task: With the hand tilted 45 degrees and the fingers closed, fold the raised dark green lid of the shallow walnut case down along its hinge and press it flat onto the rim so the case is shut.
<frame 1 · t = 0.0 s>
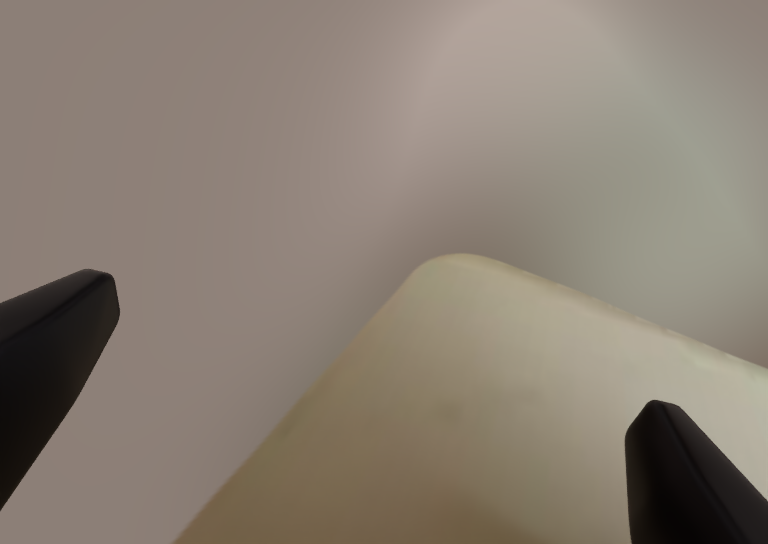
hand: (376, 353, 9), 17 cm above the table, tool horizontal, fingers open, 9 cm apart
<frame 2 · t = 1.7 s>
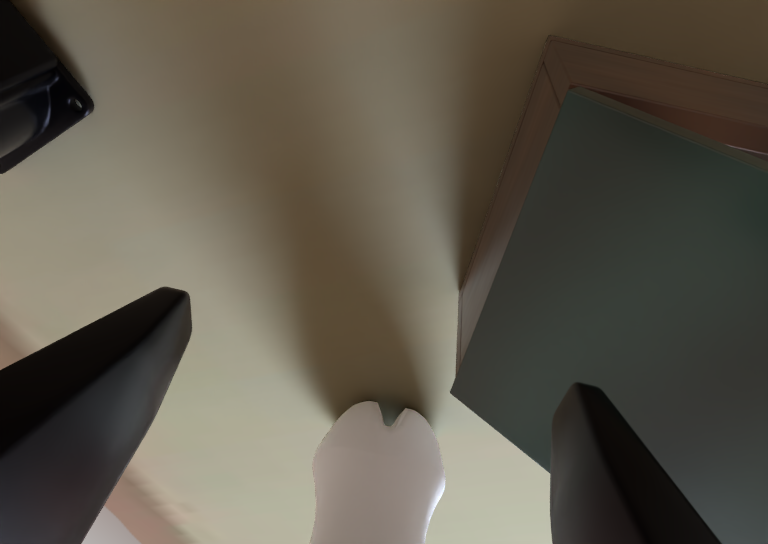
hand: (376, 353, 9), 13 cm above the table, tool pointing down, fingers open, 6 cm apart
case: (656, 222, 21), on the table
water bottle: (386, 427, 31), on the table
cover: (722, 408, 13), point 9 cm above the table, hinge at 35.0°
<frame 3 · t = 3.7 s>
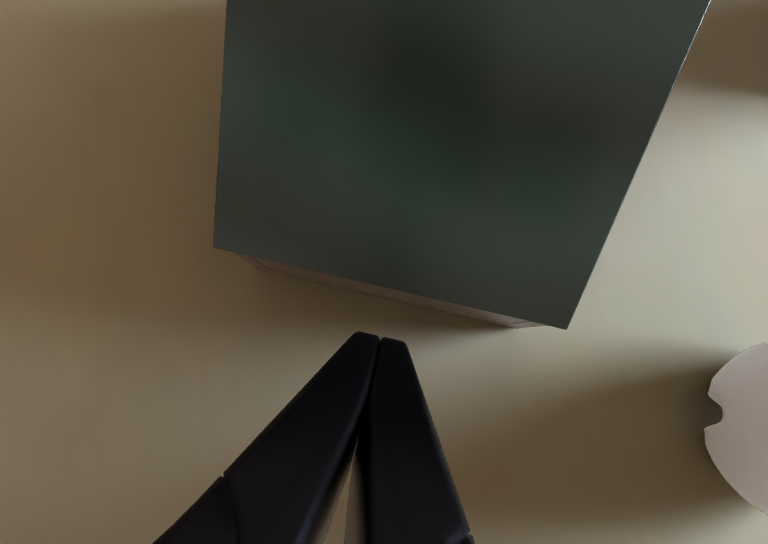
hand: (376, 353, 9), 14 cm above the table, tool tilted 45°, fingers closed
case: (418, 155, 23), on the table
water bottle: (760, 421, 22), on the table
cover: (443, 62, 14), point 9 cm above the table, hinge at 35.0°
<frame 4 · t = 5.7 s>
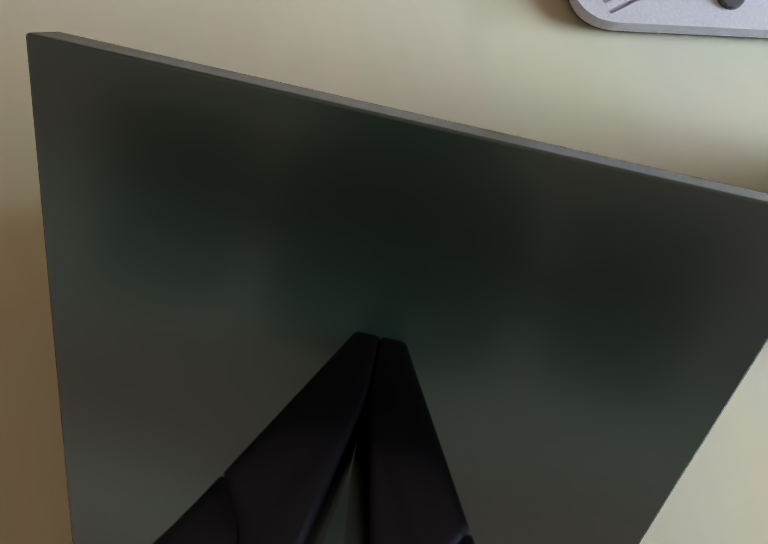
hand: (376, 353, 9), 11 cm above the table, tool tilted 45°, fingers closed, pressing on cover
cover: (350, 463, 10), point 9 cm above the table, hinge at 34.0°, touching gripper
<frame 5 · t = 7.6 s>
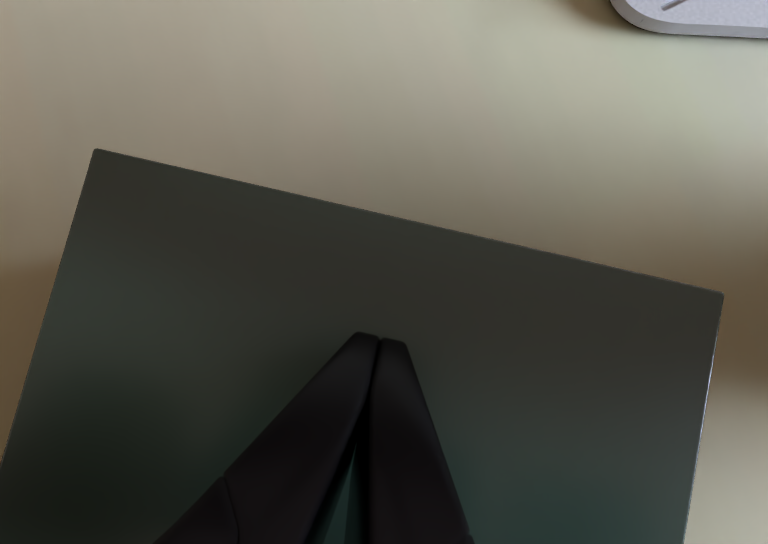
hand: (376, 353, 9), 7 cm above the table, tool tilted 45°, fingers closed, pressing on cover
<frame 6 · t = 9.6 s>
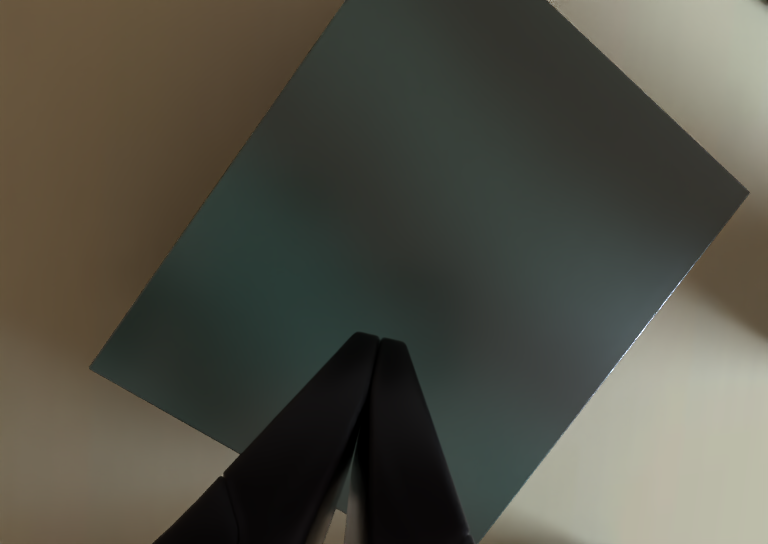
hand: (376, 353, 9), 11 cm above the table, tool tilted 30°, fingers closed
cover: (438, 272, 14), point 6 cm above the table, hinge at 1.8°
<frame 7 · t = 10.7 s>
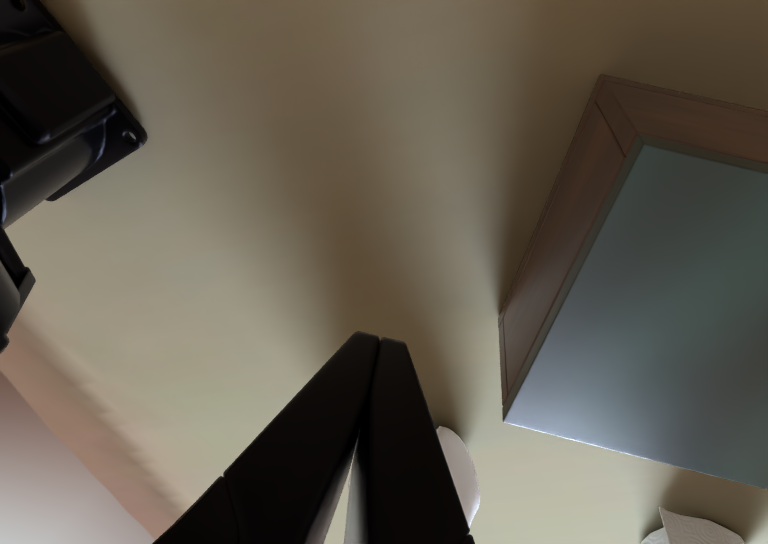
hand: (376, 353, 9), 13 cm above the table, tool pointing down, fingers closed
case: (697, 251, 21), on the table
water bottle: (418, 443, 31), on the table
paper towel roll: (691, 537, 33), on the table
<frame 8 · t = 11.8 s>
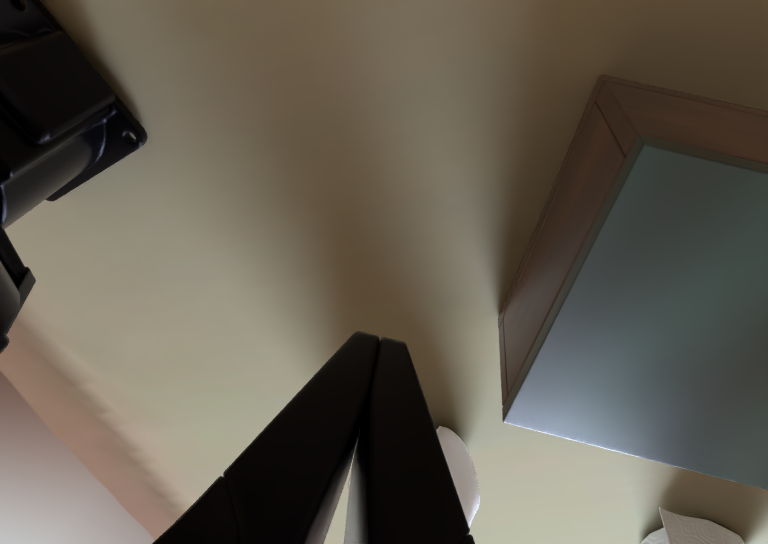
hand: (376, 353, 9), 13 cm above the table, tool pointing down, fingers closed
case: (697, 251, 21), on the table
water bottle: (418, 443, 31), on the table
paper towel roll: (691, 537, 33), on the table
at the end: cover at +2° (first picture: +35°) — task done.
